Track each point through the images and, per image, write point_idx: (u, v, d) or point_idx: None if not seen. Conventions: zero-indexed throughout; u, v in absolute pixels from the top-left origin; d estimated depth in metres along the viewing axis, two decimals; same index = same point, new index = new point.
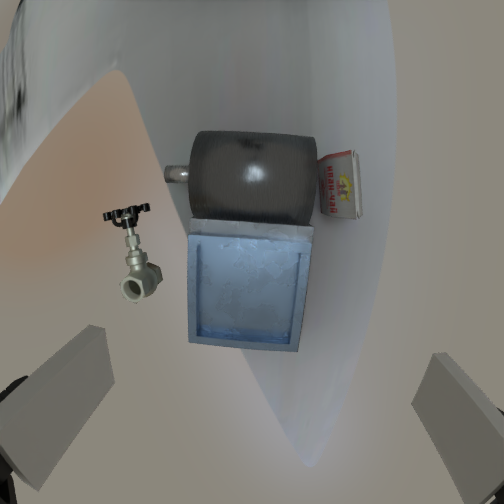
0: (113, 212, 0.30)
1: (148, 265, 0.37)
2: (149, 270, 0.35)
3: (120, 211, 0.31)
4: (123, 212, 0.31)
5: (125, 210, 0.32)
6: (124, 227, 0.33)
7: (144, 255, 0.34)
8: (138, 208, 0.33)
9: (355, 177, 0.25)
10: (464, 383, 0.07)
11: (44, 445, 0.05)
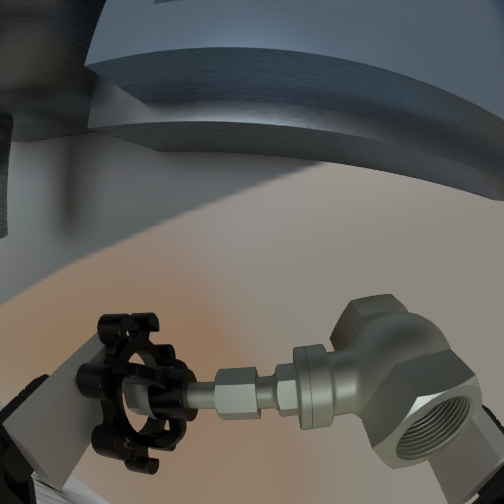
0: (101, 454, 0.06)
1: (341, 339, 0.10)
2: (364, 343, 0.08)
3: (102, 428, 0.06)
4: (111, 416, 0.07)
5: (105, 407, 0.07)
6: (182, 418, 0.08)
7: (301, 360, 0.08)
8: (111, 356, 0.08)
9: None
10: None
11: (67, 443, 0.05)
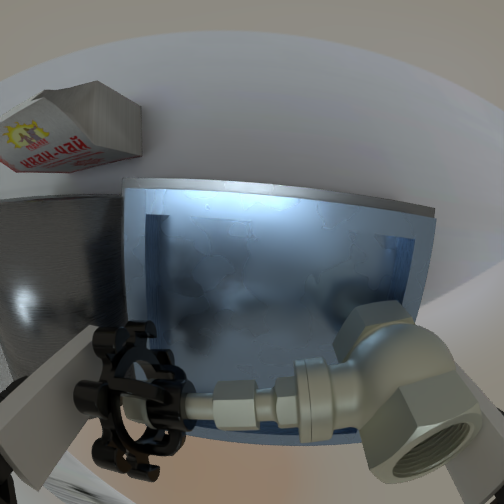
0: (102, 467, 0.06)
1: (344, 348, 0.10)
2: (368, 360, 0.08)
3: (101, 442, 0.06)
4: (110, 431, 0.07)
5: (104, 422, 0.07)
6: (181, 429, 0.08)
7: (301, 377, 0.08)
8: (108, 370, 0.08)
9: None
10: None
11: (44, 445, 0.05)
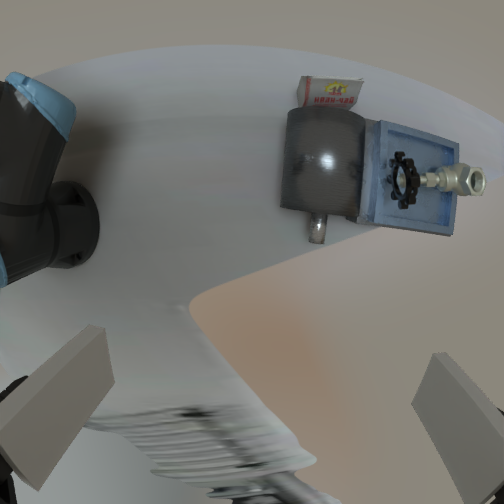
0: (413, 183, 0.24)
1: None
2: (453, 167, 0.26)
3: (410, 176, 0.25)
4: (410, 175, 0.25)
5: (408, 172, 0.25)
6: (419, 183, 0.27)
7: (442, 167, 0.26)
8: (402, 161, 0.26)
9: (330, 77, 0.26)
10: (464, 383, 0.07)
11: (44, 445, 0.05)
